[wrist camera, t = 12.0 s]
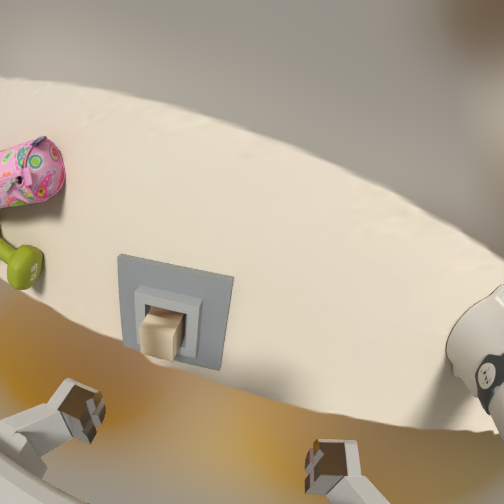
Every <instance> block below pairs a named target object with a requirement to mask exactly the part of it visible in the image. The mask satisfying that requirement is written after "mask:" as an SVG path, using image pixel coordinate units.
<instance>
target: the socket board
mask: <svg viewBox="0 0 504 504" xmlns="http://www.w3.org/2000/svg"><path fill="white" fill-rule="evenodd" d="M233 280H234V277H232V276H227V275H222V274H217V273H212V272H207V271H202V270H197V269H192V268H187V267H182V266H177V265H172V264H167V263H163V262H158V261H153V260H148V259H144V258H139V257H134V256H130V255H125V254H120V255H119V256H118V283H119V300H120V313H121V325H122V335H123V344H124V346H125V347H128V348H131V349H135V350H138V351H141V348H140V334H139V326H140V325H141V323H142V322H143V320H144V319H145V317H146V316H147V314H148V313H149V311H150V310H151V308H152V307H153V306H155V307H159V308H163V309H167V310H171V311H176V312H180V313H185V314H186V323H185V336H184V338H183V340H182V342H181V345H180V347H179V349H178V351H177V353H176V356H175V358H174V360H175V361H179V362H183V363H187V364H192V365H196V366H200V367H205V368H209V369H214V370H220V367H221V361H222V354H223V347H224V340H225V333H226V326H227V320H228V313H229V306H230V299H231V293H232V286H233Z"/></svg>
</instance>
